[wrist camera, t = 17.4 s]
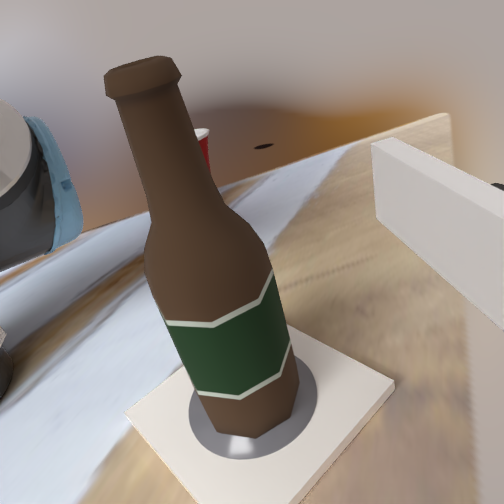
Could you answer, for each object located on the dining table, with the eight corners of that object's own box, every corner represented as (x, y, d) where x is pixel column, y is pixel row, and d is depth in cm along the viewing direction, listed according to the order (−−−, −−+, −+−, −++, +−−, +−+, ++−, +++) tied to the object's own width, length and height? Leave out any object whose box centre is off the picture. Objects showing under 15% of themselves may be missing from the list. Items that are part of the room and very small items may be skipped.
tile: (128, 420, 34) (123, 411, 34) (259, 316, 42) (256, 307, 41) (247, 564, 24) (242, 554, 23) (394, 389, 31) (394, 379, 30)
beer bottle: (204, 369, 35) (80, 72, 23) (293, 349, 35) (215, 36, 23) (201, 454, 29) (25, 99, 17) (312, 430, 28) (215, 48, 16)
